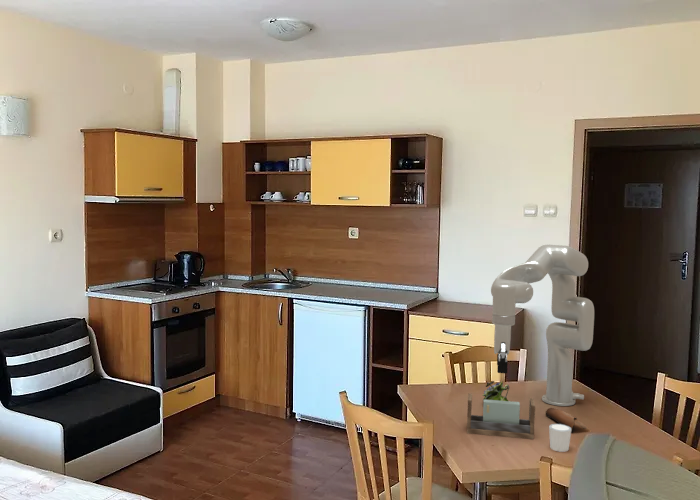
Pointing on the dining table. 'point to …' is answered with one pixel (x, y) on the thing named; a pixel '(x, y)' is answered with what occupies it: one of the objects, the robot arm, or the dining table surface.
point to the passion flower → (495, 391)
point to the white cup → (559, 437)
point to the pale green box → (501, 411)
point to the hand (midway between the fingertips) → (502, 369)
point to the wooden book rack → (501, 424)
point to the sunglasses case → (567, 420)
